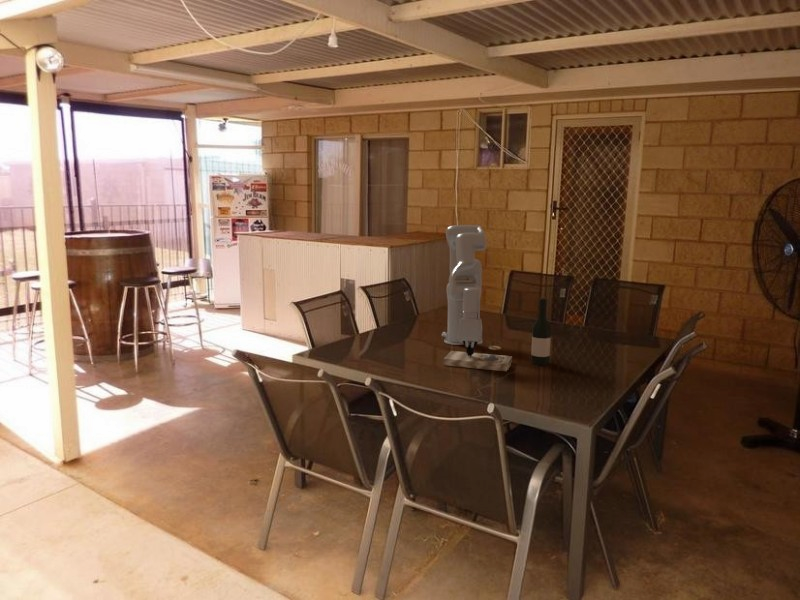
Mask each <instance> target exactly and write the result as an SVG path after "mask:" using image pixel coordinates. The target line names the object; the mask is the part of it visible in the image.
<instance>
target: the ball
mask: <svg viewBox="0 0 800 600" xmlns="http://www.w3.org/2000/svg"><path fill="white" fill-rule="evenodd" d="M495 355H496V354H491V353H489V355H488V356H487V357H486V359H485V360H489V361H497V358H496V356H495Z"/></svg>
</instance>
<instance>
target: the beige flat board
mask: <svg viewBox="0 0 800 600" xmlns="http://www.w3.org/2000/svg"><path fill="white" fill-rule="evenodd" d="M489 354H490V353H489ZM489 354H488V353H482V352H481V353H480V352H474V354H472V356H468V354H467V353H466V351H456V350H450V352H449V353H448V354H447V355H446V356H444V358H443V366H450V367H459V368H470V369H478V370H479V369H480V370H487V371H496V372H497V371H499V372H508V371H509V368H511V365H512V364H513V356H511V355H502V354H501V355H500V354H494V355H495V356H496V358H497V361H489V360H485V359H486V357H487V356H488V355H489ZM511 363H512V364H511ZM507 370H508V371H507Z"/></svg>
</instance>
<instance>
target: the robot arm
mask: <svg viewBox="0 0 800 600" xmlns="http://www.w3.org/2000/svg"><path fill="white" fill-rule="evenodd" d="M445 236H446V237H445V238H446V242H447V245H448V248H449V277H448V283H447V284H446V287H445V288H446V298H447V332H446V331H443V332H442V333H441V337H444V338H445V339H443V341H444V343H445V344H447V345H452V346H463V345H464V346H465V347H466V351H465V352H466V353H467V354H468V356H472V354H474V353H475V347H476V346H477V345H481V344H483V323H482V318H481V317H480V313H481V312H480V310H481V296H482V288H483V286H482V283H483V282H482V280H483V269H482V268H483V267H482V262H481V261H480V260H479V259H477V258H476V255H475V254H476V253H475V252H476V251H477V252H479V251H480V252H481V251H485V250H486V248H487V243H488V242H487V236H486V233H485V232H484V229H483V227H482V226H481V225H478V224H468V225H467V224H455V225H449V226H447V227H446V229H445ZM456 279H471V280H456ZM470 342H471V344H470Z"/></svg>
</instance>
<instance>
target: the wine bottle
mask: <svg viewBox="0 0 800 600" xmlns="http://www.w3.org/2000/svg"><path fill="white" fill-rule="evenodd" d="M547 302H548V299H547V298H546V297H545V296H541V297H540V298H539V299H538V317H537V319H536V320H535V322H534V324H533V325H532V327H531V328H532V331H531V354H530V355H531V356H530V363H532V364H531V365H533V364H534V366H536V365H537V367H547V366H549V365H550V357H551V356H550V354H551V339H552V338H551V337H552V328H551V326H550V324H549V321H548V319H547V307H548V306H547V305H548V303H547ZM546 365H547V366H546Z"/></svg>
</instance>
